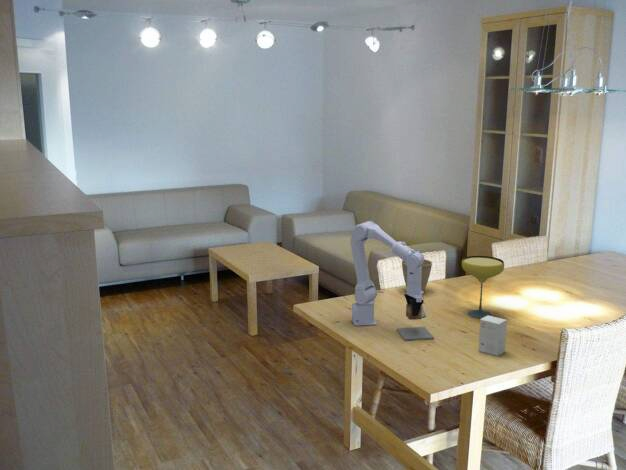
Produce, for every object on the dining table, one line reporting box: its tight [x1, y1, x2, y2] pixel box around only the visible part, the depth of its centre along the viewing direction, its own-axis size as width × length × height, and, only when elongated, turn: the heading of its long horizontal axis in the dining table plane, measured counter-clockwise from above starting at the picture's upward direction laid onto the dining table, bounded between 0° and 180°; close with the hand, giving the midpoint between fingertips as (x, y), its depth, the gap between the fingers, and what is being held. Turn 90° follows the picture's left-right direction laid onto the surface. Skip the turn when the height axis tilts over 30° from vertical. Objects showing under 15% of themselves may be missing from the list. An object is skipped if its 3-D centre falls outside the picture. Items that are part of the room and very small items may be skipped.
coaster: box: [396, 326, 435, 342], centre depth 256 cm, size 12×12×1 cm
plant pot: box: [401, 258, 433, 292], centre depth 309 cm, size 15×15×16 cm
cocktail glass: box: [461, 255, 505, 320], centre depth 277 cm, size 18×18×25 cm
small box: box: [478, 315, 507, 357], centre depth 238 cm, size 8×6×13 cm
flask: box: [421, 294, 427, 319], centre depth 278 cm, size 7×7×10 cm
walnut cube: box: [405, 303, 422, 321], centre depth 256 cm, size 5×5×5 cm
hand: (413, 313), depth 256 cm, fingers closed on walnut cube, 5 cm apart
